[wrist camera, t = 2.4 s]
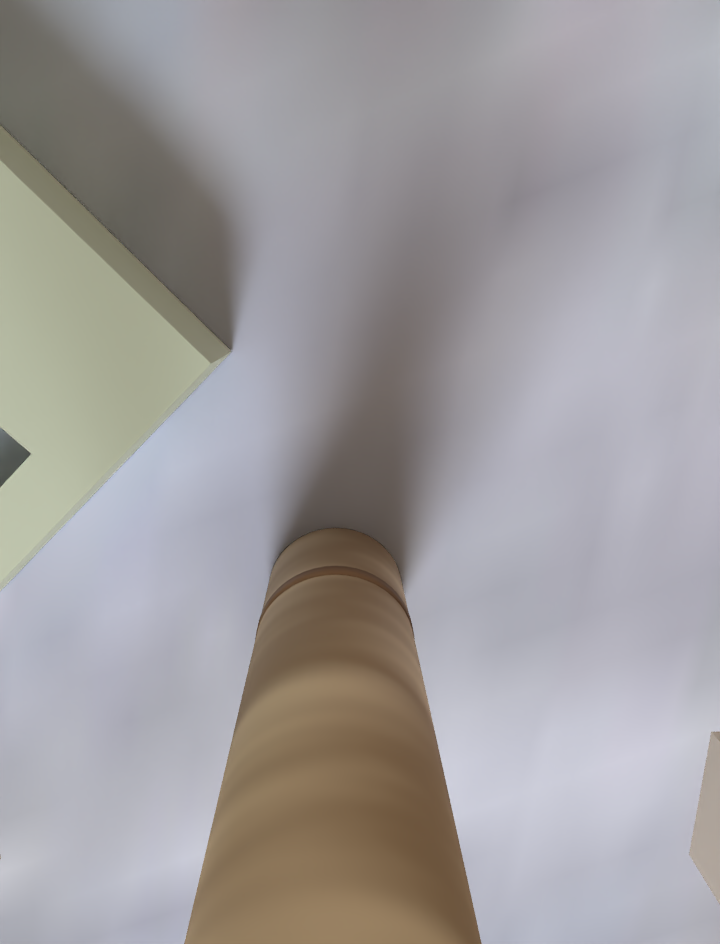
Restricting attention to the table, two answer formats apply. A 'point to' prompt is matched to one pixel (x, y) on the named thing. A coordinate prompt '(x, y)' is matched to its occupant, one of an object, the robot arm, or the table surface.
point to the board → (78, 354)
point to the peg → (334, 771)
